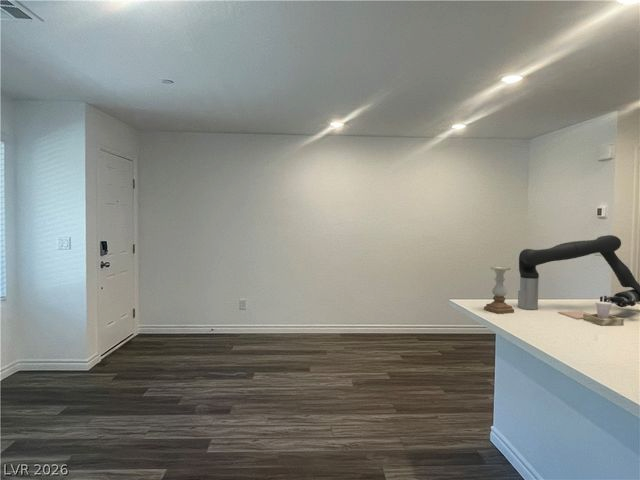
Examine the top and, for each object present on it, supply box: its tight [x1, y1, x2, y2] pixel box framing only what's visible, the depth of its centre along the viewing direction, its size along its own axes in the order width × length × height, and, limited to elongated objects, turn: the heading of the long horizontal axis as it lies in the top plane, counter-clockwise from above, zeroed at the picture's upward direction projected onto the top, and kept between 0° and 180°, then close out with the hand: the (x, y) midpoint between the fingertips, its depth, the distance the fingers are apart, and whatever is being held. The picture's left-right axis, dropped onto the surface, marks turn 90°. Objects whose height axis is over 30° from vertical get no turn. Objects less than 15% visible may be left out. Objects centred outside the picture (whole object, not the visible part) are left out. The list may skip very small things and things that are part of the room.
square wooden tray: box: [582, 313, 625, 327], centre depth 196 cm, size 11×11×3 cm
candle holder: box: [483, 266, 515, 315], centre depth 220 cm, size 11×11×24 cm
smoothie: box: [595, 293, 613, 319], centre depth 196 cm, size 6×6×14 cm
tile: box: [557, 310, 591, 320], centre depth 210 cm, size 14×14×1 cm
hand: (612, 302), depth 202 cm, fingers open, 8 cm apart
